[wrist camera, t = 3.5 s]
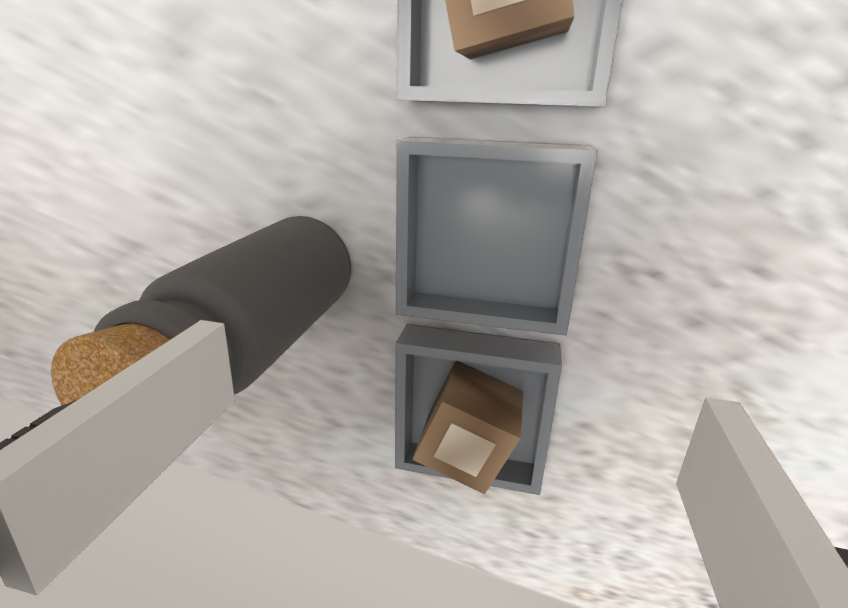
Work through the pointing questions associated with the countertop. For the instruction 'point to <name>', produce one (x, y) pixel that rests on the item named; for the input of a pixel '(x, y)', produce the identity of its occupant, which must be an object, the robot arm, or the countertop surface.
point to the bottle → (219, 306)
